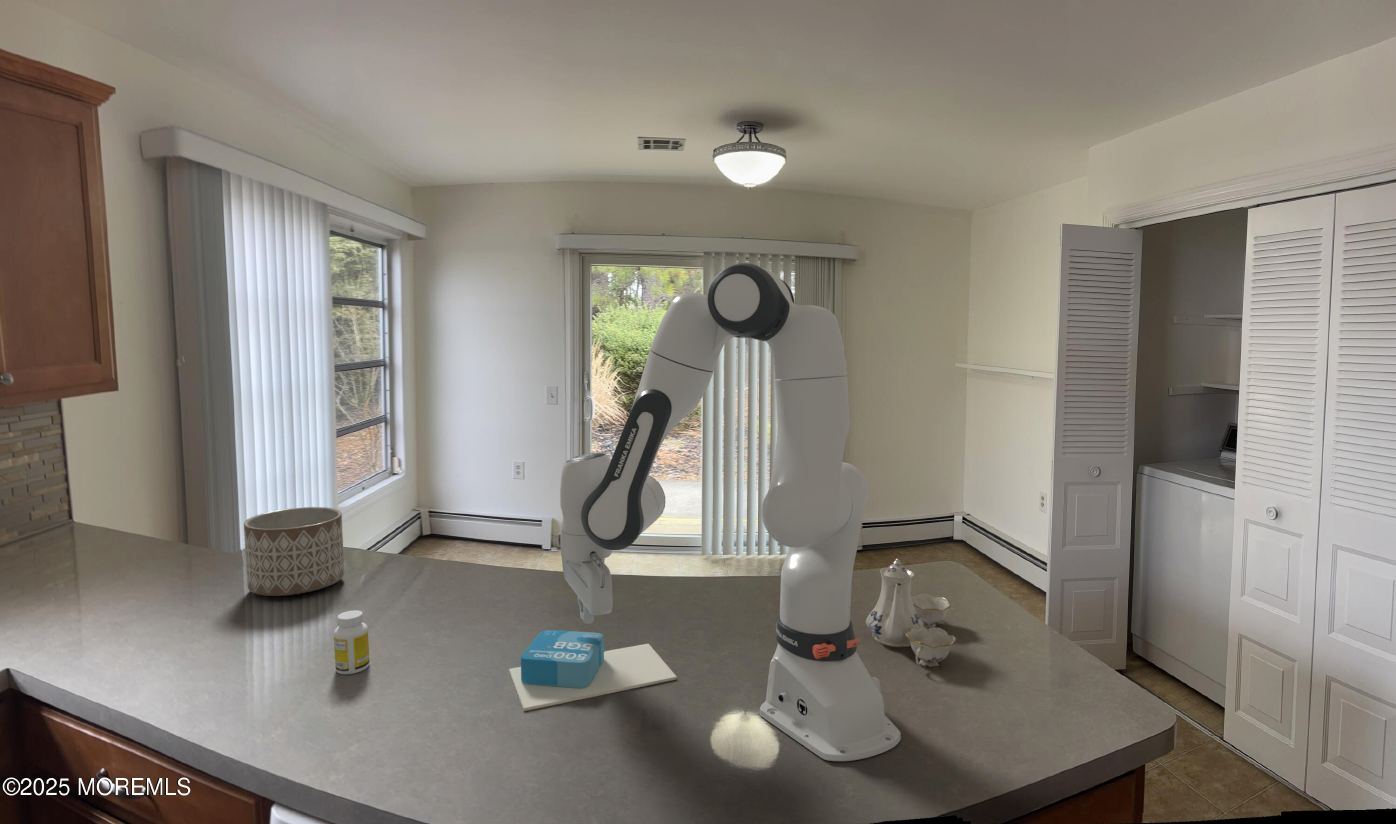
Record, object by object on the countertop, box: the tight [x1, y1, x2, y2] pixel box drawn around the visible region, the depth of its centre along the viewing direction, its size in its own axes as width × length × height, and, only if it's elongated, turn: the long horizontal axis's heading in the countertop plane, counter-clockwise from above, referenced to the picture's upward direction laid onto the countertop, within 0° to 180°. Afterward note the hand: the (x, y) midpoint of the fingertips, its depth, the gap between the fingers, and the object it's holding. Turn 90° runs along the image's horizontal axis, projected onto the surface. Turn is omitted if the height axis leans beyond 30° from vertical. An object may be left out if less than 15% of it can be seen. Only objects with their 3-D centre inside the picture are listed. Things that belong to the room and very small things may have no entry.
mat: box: [508, 643, 678, 712], centre depth 121 cm, size 14×26×1 cm, turn 114°
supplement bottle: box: [333, 609, 370, 675], centre depth 122 cm, size 5×5×10 cm
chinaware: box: [865, 558, 957, 668], centre depth 136 cm, size 28×17×17 cm, turn 168°
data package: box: [520, 629, 605, 688], centre depth 121 cm, size 12×4×12 cm
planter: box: [243, 506, 345, 597], centre depth 159 cm, size 19×19×16 cm
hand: (587, 620), depth 123 cm, fingers closed
